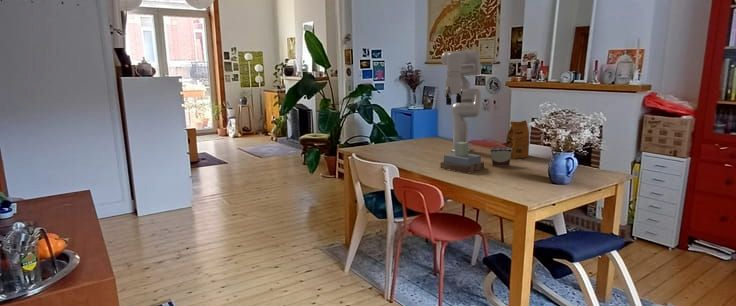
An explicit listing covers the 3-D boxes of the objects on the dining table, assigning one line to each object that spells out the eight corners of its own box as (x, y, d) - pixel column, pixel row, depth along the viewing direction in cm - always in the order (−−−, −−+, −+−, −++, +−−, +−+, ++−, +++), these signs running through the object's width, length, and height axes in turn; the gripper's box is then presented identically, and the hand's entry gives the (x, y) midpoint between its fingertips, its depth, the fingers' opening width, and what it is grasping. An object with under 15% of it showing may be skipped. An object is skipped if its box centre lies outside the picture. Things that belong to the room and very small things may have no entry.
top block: (457, 158, 273) (457, 151, 272) (480, 162, 262) (480, 155, 261) (444, 162, 266) (444, 155, 265) (467, 166, 254) (467, 159, 253)
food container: (510, 163, 272) (510, 146, 270) (512, 165, 266) (512, 148, 264) (488, 163, 273) (488, 146, 271) (489, 166, 267) (490, 148, 265)
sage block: (460, 153, 267) (460, 141, 265) (468, 154, 263) (468, 142, 262) (455, 155, 263) (455, 142, 262) (462, 156, 260) (462, 143, 258)
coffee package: (503, 156, 291) (504, 120, 286) (521, 154, 294) (522, 119, 289) (512, 159, 281) (513, 122, 277) (530, 157, 284) (532, 121, 280)
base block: (457, 164, 276) (457, 157, 276) (484, 169, 264) (484, 162, 263) (440, 169, 266) (440, 162, 265) (467, 174, 253) (467, 167, 252)
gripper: (457, 73, 283) (457, 101, 286) (439, 75, 271) (439, 105, 275) (467, 73, 277) (467, 102, 281) (450, 75, 266) (450, 105, 269)
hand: (453, 103), depth 278 cm, fingers open, 9 cm apart
